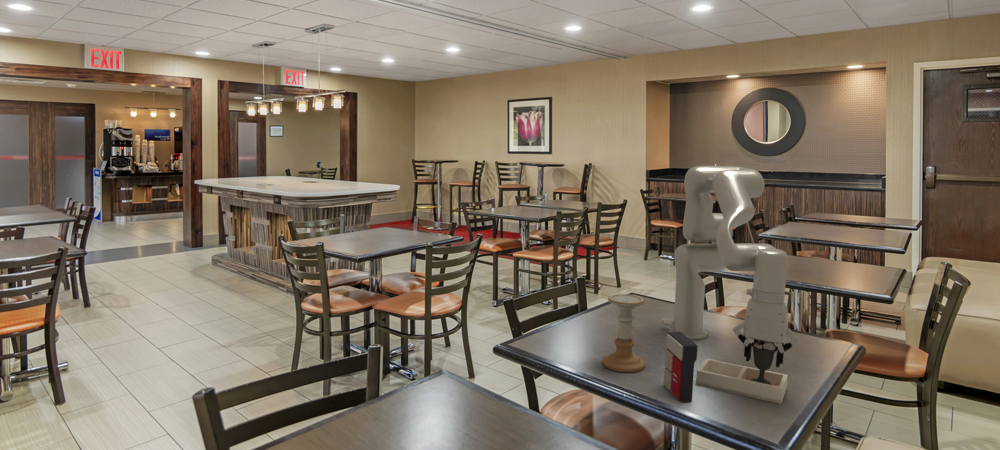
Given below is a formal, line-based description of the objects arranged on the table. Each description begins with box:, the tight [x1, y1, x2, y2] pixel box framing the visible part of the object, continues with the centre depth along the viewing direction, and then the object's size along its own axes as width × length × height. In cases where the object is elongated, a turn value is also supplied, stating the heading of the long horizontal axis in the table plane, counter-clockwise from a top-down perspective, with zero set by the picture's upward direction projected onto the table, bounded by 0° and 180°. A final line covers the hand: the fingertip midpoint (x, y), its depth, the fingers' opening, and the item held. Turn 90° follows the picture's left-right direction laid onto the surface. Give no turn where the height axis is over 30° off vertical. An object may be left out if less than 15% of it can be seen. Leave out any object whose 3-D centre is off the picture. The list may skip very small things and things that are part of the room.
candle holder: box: [601, 293, 646, 373], centre depth 166 cm, size 12×12×20 cm
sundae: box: [751, 339, 778, 385], centre depth 149 cm, size 7×7×15 cm
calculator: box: [663, 331, 699, 403], centre depth 147 cm, size 11×4×15 cm, turn 5°
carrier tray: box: [695, 358, 789, 405], centre depth 153 cm, size 21×11×4 cm, turn 57°
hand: (762, 362), depth 149 cm, fingers closed on sundae, 6 cm apart
